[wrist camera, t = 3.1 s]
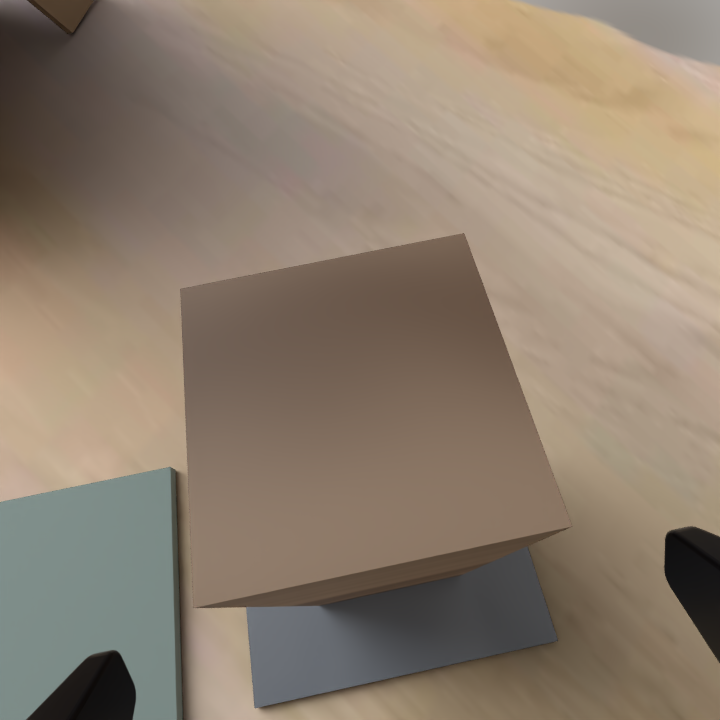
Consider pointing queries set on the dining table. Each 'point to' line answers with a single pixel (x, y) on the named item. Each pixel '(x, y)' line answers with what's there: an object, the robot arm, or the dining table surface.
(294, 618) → the metal tile
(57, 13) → the photo frame
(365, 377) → the walnut block
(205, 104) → the dining table surface
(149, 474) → the rubber pad
